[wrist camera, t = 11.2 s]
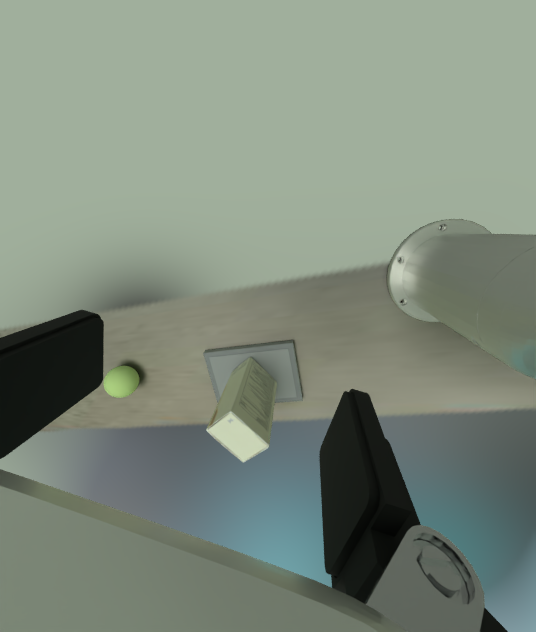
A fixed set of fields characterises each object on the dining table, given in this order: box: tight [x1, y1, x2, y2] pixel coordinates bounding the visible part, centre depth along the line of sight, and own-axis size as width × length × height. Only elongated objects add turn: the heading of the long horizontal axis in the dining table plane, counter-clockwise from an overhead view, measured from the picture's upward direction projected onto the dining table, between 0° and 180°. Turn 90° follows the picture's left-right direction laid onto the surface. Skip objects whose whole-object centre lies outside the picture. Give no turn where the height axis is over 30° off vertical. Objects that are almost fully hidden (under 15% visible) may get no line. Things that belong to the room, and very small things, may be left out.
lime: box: [104, 366, 139, 398], centre depth 41 cm, size 5×5×5 cm
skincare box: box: [206, 357, 277, 462], centre depth 33 cm, size 6×4×12 cm
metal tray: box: [203, 340, 303, 403], centre depth 40 cm, size 14×10×1 cm
